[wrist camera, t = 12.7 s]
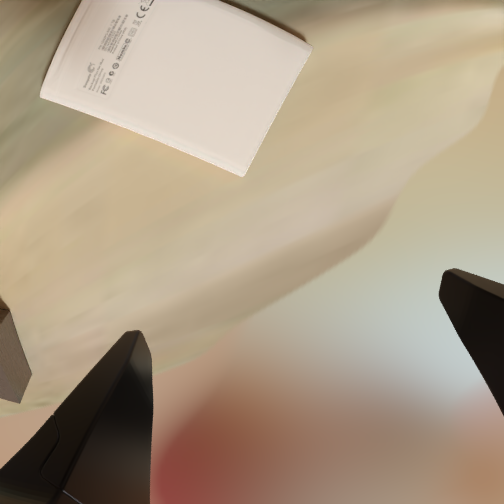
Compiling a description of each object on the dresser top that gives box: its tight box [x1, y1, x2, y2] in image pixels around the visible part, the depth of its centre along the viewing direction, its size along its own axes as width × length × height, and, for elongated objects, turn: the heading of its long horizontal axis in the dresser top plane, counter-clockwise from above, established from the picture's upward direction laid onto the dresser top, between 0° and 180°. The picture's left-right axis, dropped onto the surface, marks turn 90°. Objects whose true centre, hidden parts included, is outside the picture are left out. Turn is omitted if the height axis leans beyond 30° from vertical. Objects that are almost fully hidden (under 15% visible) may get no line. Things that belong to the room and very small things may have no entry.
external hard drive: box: [40, 0, 313, 177], centre depth 14 cm, size 2×8×12 cm
